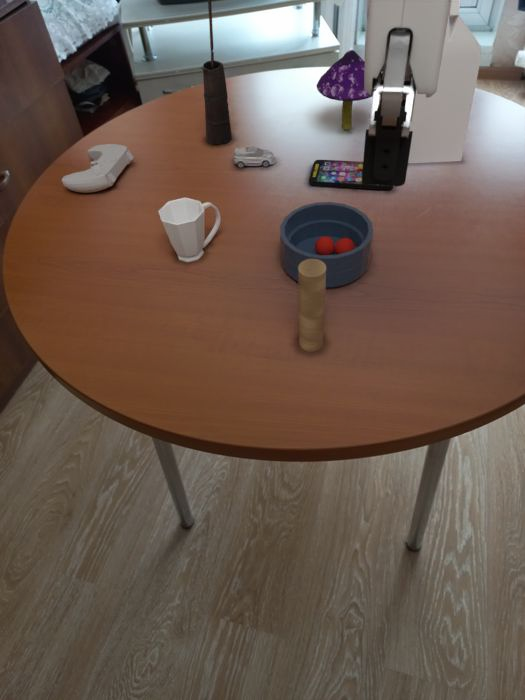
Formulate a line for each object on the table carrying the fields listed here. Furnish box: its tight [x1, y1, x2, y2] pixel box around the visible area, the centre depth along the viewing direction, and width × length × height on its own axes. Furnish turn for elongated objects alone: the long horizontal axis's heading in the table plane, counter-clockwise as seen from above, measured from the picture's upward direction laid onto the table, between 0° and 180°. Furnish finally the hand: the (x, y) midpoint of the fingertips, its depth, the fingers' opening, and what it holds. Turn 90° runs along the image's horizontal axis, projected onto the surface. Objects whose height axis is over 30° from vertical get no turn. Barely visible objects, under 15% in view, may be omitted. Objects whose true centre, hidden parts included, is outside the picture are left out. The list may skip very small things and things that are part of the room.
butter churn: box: [200, 0, 233, 146], centre depth 95 cm, size 9×10×28 cm
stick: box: [297, 259, 326, 353], centre depth 64 cm, size 3×3×13 cm
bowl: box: [279, 201, 375, 289], centre depth 77 cm, size 13×13×6 cm
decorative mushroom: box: [316, 49, 373, 131], centre depth 100 cm, size 12×12×15 cm
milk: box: [408, 0, 482, 165], centre depth 90 cm, size 12×12×26 cm
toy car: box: [233, 146, 276, 169], centre depth 98 cm, size 4×8×3 cm, turn 88°
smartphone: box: [308, 159, 394, 191], centre depth 93 cm, size 8×1×15 cm
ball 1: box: [315, 237, 335, 255], centre depth 78 cm, size 3×3×3 cm
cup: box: [157, 197, 222, 263], centre depth 80 cm, size 7×10×8 cm
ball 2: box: [335, 238, 355, 255], centre depth 78 cm, size 3×3×3 cm
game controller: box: [61, 143, 135, 194], centre depth 98 cm, size 14×4×10 cm
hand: (388, 150), depth 42 cm, fingers open, 9 cm apart
